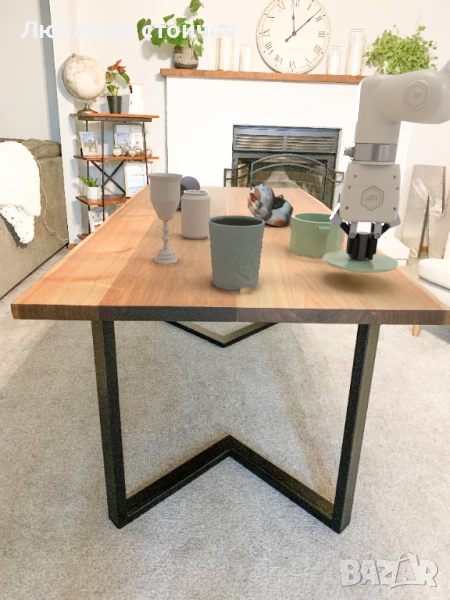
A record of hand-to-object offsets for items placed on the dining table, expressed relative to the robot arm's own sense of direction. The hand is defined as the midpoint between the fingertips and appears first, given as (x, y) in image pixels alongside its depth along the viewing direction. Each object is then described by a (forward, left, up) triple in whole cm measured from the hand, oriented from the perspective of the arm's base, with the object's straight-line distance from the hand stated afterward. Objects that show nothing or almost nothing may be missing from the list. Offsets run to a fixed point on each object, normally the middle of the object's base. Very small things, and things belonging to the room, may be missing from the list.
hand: (360, 257), depth 83 cm
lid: (0, 0, -1) cm, 1 cm away
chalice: (+38, -11, -6) cm, 40 cm away
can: (+34, -34, -6) cm, 49 cm away
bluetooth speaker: (+43, -81, -6) cm, 92 cm away
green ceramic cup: (+23, +2, -6) cm, 24 cm away
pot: (+4, -23, -6) cm, 24 cm away
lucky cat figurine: (+13, -56, -6) cm, 58 cm away
